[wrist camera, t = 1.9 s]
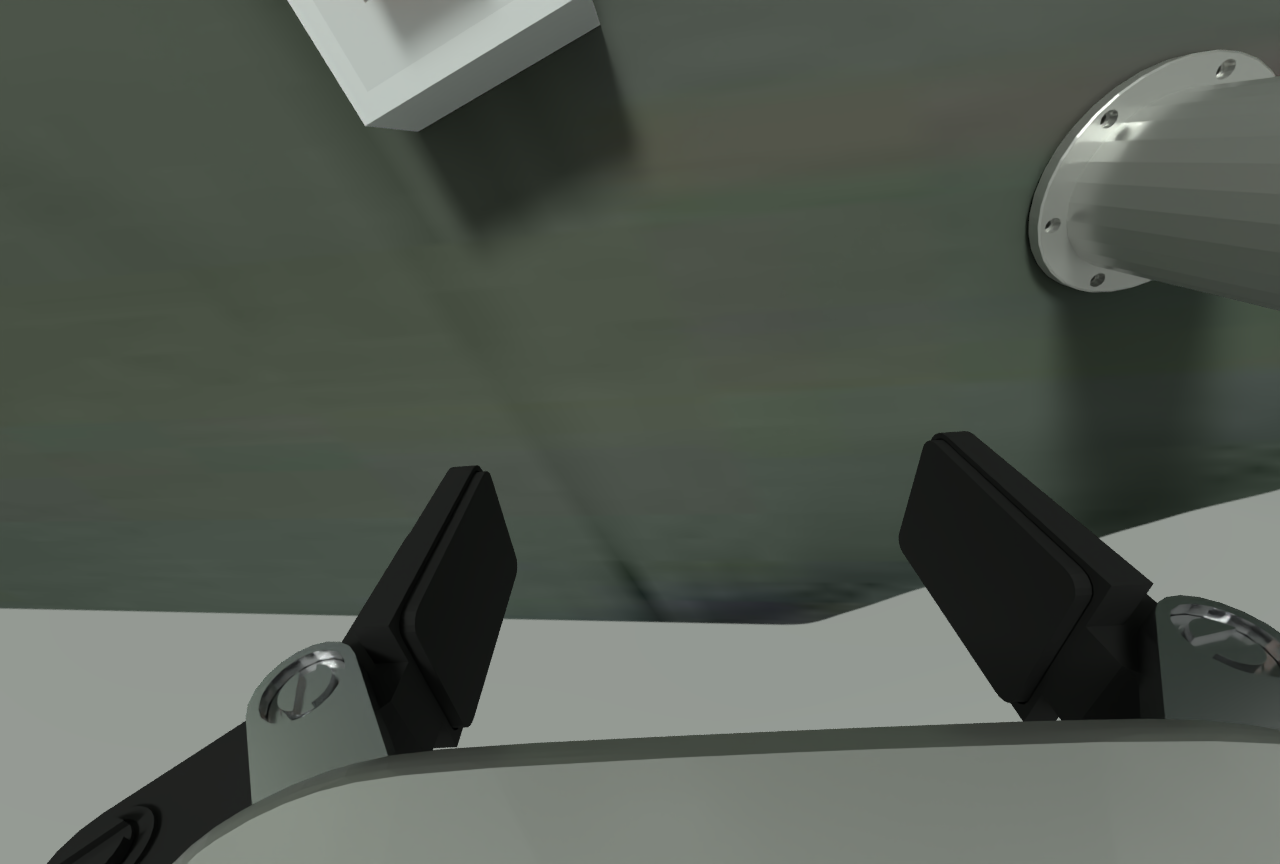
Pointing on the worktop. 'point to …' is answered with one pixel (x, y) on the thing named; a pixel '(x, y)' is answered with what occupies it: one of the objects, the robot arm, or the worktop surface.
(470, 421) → the worktop surface
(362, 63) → the box
